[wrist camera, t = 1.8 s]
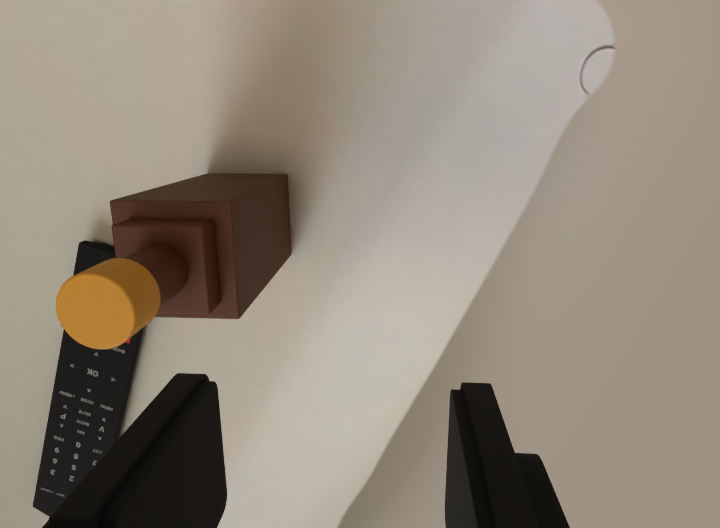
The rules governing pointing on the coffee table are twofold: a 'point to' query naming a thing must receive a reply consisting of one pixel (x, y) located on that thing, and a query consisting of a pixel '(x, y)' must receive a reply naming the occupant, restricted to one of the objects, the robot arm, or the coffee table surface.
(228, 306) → the bottle
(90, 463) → the remote control
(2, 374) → the coffee table surface
